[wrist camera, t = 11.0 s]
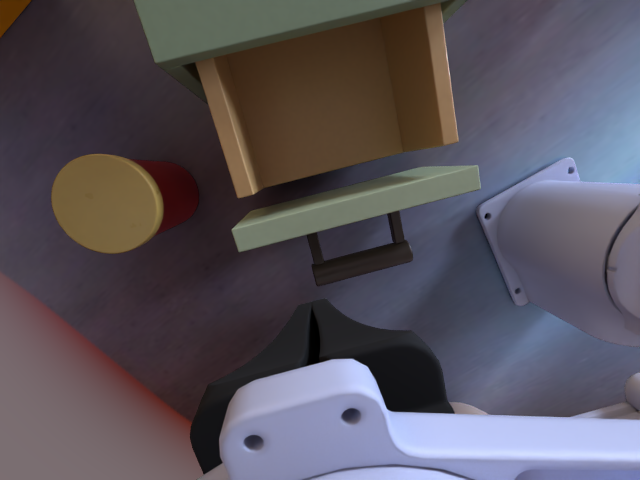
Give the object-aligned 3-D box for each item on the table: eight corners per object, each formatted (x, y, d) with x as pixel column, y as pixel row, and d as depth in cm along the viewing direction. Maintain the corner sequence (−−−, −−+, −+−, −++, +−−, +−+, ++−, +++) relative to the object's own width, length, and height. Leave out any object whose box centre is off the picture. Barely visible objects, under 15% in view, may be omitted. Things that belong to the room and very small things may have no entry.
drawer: (432, 235, 23) (489, 261, 16) (270, 278, 22) (261, 323, 16) (391, -17, 19) (445, -118, 12) (195, 30, 18) (140, -47, 12)
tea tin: (214, 206, 22) (177, 224, 15) (158, 239, 22) (95, 271, 15) (175, 146, 21) (115, 134, 14) (116, 180, 21) (26, 186, 14)
